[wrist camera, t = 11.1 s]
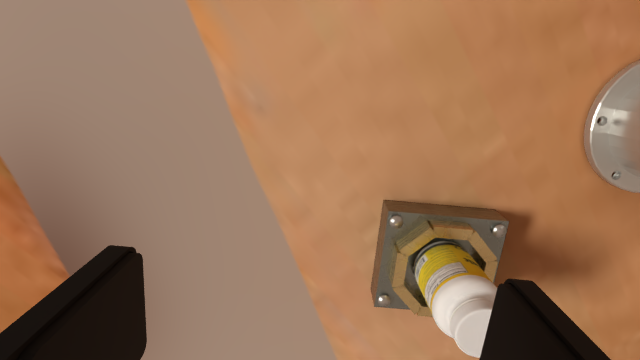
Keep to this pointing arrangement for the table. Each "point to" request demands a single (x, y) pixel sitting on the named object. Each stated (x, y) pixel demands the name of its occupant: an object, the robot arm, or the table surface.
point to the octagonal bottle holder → (418, 232)
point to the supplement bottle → (456, 293)
